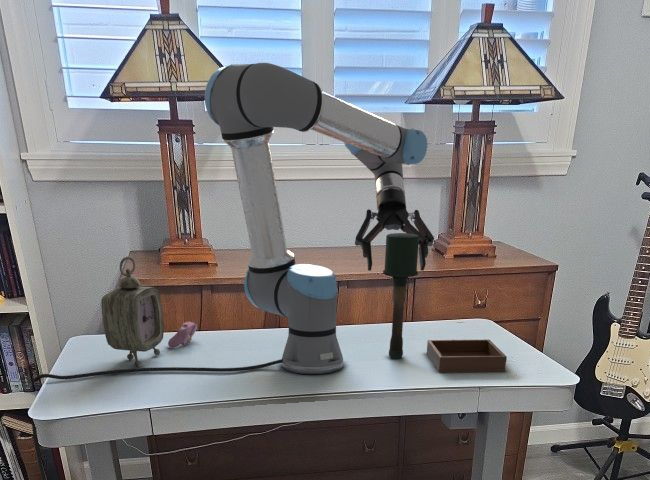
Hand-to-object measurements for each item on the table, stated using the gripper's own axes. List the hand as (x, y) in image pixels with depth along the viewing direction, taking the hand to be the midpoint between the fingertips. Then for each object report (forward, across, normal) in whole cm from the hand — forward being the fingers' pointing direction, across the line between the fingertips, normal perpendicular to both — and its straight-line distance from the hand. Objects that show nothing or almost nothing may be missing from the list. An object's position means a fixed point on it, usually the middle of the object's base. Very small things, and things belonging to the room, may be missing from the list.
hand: (396, 267), depth 177 cm
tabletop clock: (+19, +66, -11) cm, 70 cm away
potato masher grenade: (+20, 0, -11) cm, 22 cm away
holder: (+23, -17, -7) cm, 30 cm away
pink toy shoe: (+9, +56, -22) cm, 61 cm away
